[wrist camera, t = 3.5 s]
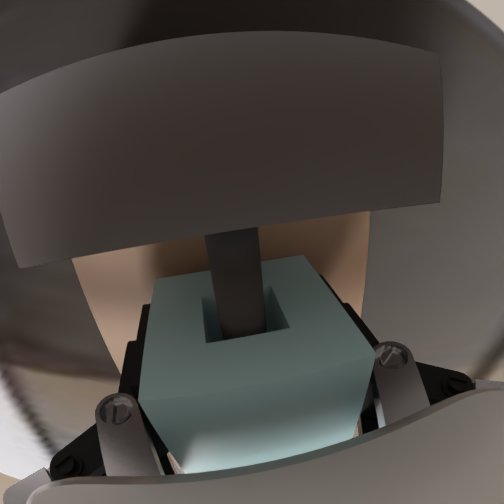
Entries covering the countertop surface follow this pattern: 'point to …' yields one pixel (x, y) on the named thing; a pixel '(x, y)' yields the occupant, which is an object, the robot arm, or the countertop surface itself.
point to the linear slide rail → (217, 165)
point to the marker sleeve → (252, 371)
